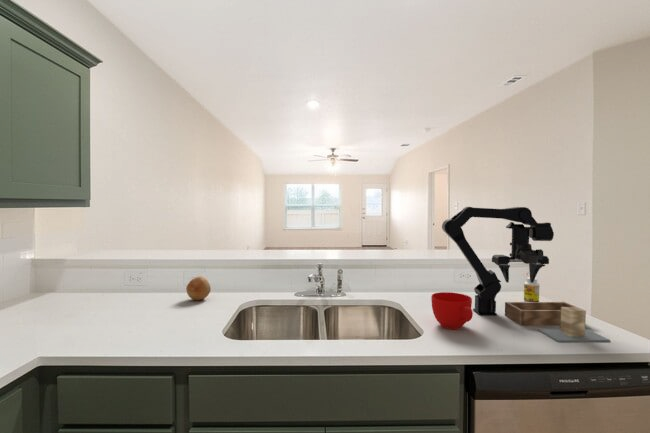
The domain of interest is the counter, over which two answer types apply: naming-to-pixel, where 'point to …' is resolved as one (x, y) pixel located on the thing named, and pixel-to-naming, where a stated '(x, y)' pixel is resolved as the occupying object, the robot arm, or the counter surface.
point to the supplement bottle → (531, 291)
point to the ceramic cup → (451, 309)
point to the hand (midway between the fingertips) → (519, 282)
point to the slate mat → (562, 337)
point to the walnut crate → (535, 312)
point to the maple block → (573, 321)
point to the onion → (198, 288)
